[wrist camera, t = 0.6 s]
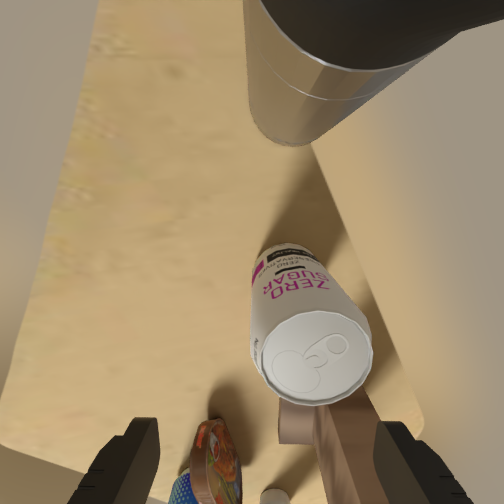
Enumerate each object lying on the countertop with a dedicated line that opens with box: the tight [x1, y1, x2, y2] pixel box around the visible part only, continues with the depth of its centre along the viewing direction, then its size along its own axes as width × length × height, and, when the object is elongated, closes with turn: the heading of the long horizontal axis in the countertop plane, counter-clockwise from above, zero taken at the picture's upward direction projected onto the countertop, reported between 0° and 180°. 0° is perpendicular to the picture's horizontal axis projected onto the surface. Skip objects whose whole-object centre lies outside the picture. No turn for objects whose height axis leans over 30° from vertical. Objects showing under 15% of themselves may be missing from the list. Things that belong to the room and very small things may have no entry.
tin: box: [190, 418, 243, 504], centre depth 33 cm, size 15×3×8 cm, turn 15°
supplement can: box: [250, 243, 373, 406], centre depth 22 cm, size 8×8×15 cm
